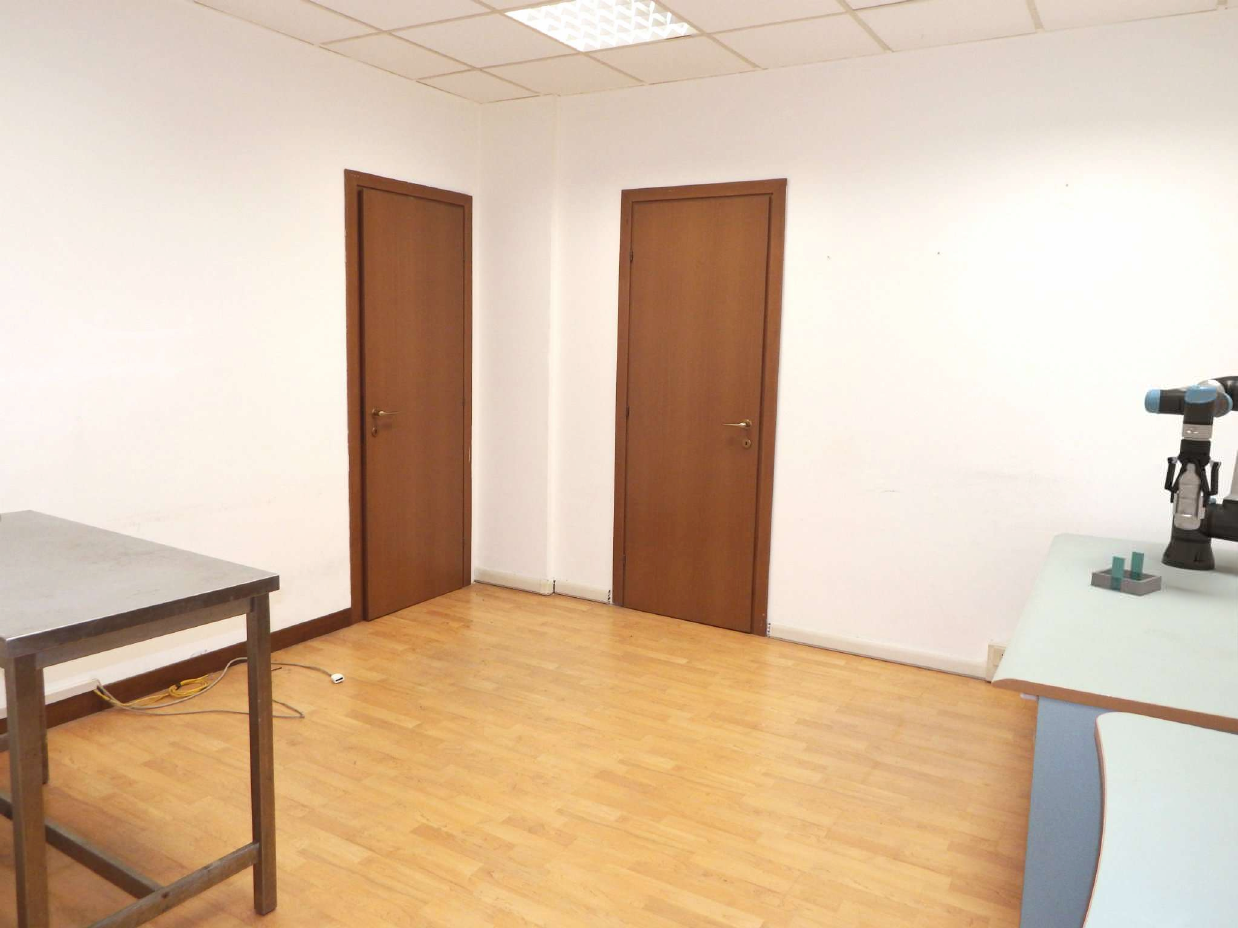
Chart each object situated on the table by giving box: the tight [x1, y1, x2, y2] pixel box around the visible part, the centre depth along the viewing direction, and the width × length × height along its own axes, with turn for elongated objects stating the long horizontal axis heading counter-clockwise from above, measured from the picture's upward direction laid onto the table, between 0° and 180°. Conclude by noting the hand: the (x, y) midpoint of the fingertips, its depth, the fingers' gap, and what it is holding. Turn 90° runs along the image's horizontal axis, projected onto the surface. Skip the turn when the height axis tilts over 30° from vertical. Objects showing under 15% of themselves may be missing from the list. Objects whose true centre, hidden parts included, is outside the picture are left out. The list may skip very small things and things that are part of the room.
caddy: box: [1090, 550, 1163, 597], centre depth 273 cm, size 14×14×10 cm
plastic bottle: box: [1174, 463, 1203, 530], centre depth 268 cm, size 6×7×20 cm
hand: (1187, 516), depth 269 cm, fingers closed on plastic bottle, 6 cm apart
